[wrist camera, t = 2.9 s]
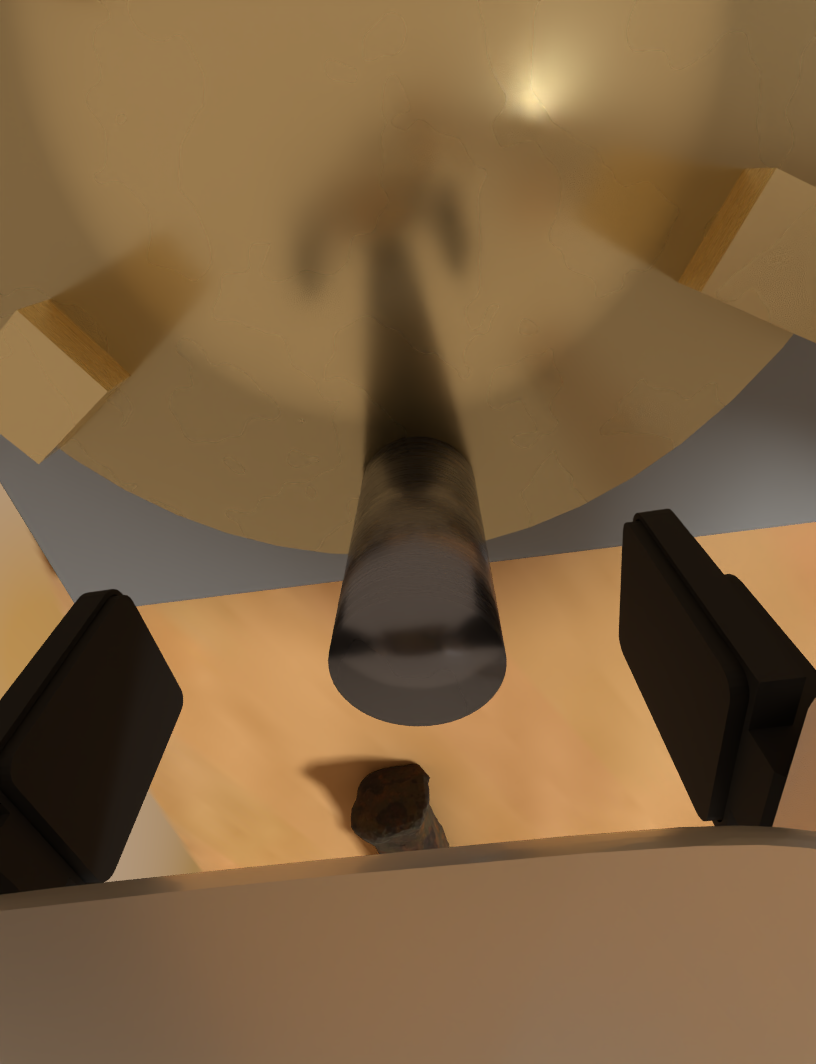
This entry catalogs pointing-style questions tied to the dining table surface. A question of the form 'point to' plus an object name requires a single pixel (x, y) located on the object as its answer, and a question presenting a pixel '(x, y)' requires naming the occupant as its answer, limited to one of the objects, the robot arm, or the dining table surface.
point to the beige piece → (397, 273)
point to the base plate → (669, 483)
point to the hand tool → (397, 811)
